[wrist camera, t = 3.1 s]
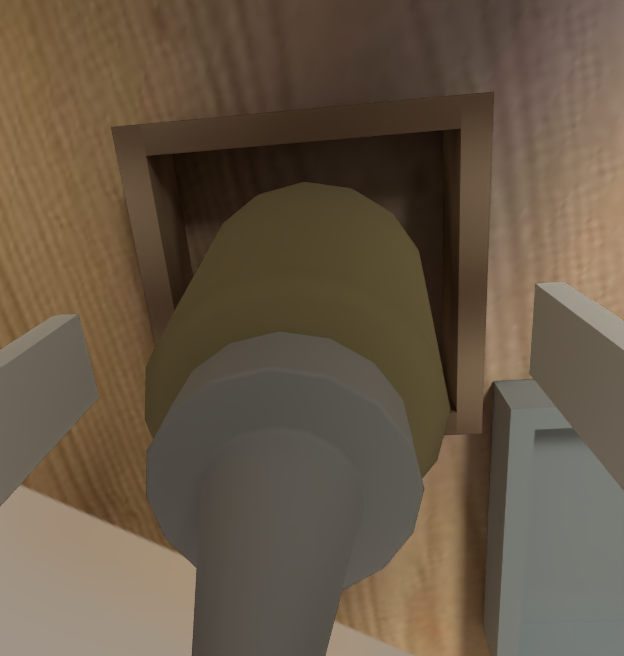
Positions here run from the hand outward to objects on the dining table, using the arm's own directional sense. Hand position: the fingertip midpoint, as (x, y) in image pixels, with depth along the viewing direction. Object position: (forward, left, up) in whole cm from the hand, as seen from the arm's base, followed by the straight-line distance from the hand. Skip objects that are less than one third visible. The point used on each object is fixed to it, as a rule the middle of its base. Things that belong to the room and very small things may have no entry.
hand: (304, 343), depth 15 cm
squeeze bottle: (0, 0, -8) cm, 8 cm away
